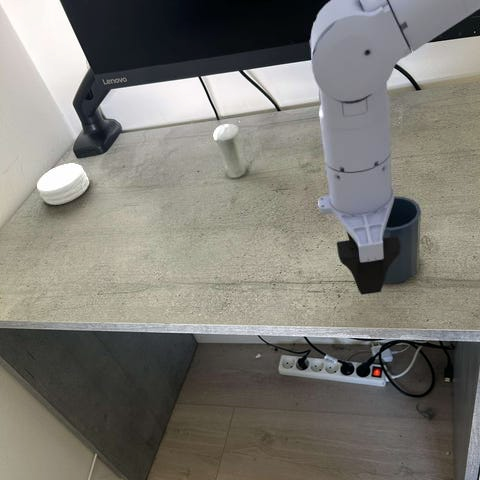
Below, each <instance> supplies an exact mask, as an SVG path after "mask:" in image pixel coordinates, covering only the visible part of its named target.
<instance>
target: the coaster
mask: <svg viewBox="0 0 480 480" xmlns="http://www.w3.org/2000/svg"><path fill="white" fill-rule="evenodd" d="M89 185H90V179H89V177H88V176H87V173H86V172H85V170H84V168H83V167H82V166H81V165H80V164H77V163H67V164H63V165H59V166H56V167H54V168H52V169H50V170H49V171H48V172H46V173H45V174H43V175H42V177H40V179H39V180H38V182H37V183H36V189H37V191H38V193H40V196H41V197H42V199H43V201H44V202H45V203H46V204H49V205H53V206H57V205H63V204H67V203H69V202H72V201H74V200H76V199H77V198H79V197H80V196H82V195H83V194H84V193H85V192H86V190H87V189H88V188H89Z"/></svg>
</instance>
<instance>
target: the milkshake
mask: <svg viewBox="0 0 480 480" xmlns="http://www.w3.org/2000/svg"><path fill="white" fill-rule="evenodd" d="M240 126H241V120H239V123H238V126H237V125H236V124H234V123H224V124H221V125H219V126H217V127H216V129H215V130H214V131H213V139H214V141H215V144H216V146H217V149H218V152H219V153H220V157H221V159H222V161H223V165H224V167H225V169H226V172H227V175H228V177H230V178H232V179H239V178H240V177H243V176H244V175H245V174H246V165H245V159H244V153H243V148H242V141H241V133H240Z"/></svg>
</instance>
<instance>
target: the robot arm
mask: <svg viewBox="0 0 480 480" xmlns="http://www.w3.org/2000/svg"><path fill="white" fill-rule="evenodd" d="M478 10H480V0H330V1H328V2H327V3H325V4H324V6H323V7H322V8H321V9H320V10H319V11H318V13H317V15H316V19H315V21H313V23H312V24H313V25H312V28H311V33H310V39H309V47H310V54H311V55H310V56H311V62H310V63H311V70H312V75H313V77H314V81H315V82H316V85H317V99H318V103H319V105H320V106H319V110H318V117H319V122H320V130H321V140H322V147H323V156H324V161H325V169H326V179H327V186H328V194H327V195H323V196H320V197H318V199H317V203H318V211H319V213H320V214H321V215H327V214H330V215H332V216H333V217H334V218H335V219H336V221H338V223H339V224H340V225H341V226H342V227H343V229H344V230H345V231H346V235H347V238H348V239H347V240H341V241H336V249H337V255H338V256H337V257H338V259H339V260H340V262H341V264H342V265H344V266H345V267H346V268H347V269H348V270H349V272H350V273H351V275H352V277H353V279H354V282H355V286H356V288H357V290H358V292H359V293H360V295H362V296H363V295H371V294H377V293H381V292H382V289H383V287H384V284H385V283H384V280H385V277H386V274H387V271H388V268H389V266H390V265H391V263H392V262H393V261H394V260H395V258H396V257H397V256H399V254H400V250H401V244H400V241H399V237H398V236H395V237H389V238H383V234H384V231H385V227H386V224H387V221H388V218H389V215H390V212H391V209H392V205H393V202H394V196H395V192H394V188H393V186H392V185H393V184H392V142H391V141H392V138H391V133H392V132H391V131H392V130H391V100H390V96H389V95H388V81H389V79H390V78H391V76H392V75H393V72H394V68H395V66H396V65H397V64H398V63H399V61H400V60H401V59H404V58H406V57H407V56H409V55H410V54H412V53H413V52H415V51H416V50H419V49H420V48H421V47H423V46H425V45H426V44H427V43H429V42H431V41H432V40H433V39H435V38H437V37H438V36H440V35H442V34H443V33H444V32H446V31H447V30H449V29H450V28H453V27H454V26H455V25H457V24H458V23H460V22H461V21H463V20H464V19H466V18H467V17H469V16H471V15H472V14H474V13H476V11H478ZM382 238H383V239H382Z"/></svg>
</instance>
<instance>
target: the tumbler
mask: <svg viewBox="0 0 480 480" xmlns="http://www.w3.org/2000/svg"><path fill="white" fill-rule="evenodd" d="M421 221H422V210H421V207H420V205H419V204H418V202H416V201H415V200H414V199H412V198H409V197H406V196H398V195H397V196H396V195H394V202H393V205H392V209H391V212H390V215H389V218H388V221H387V224H386V227H385V231H384V234H383V238H389V237H395V236H398V237H399V241H400V244H401V250H400V254H399V256H397V257H396V258H395V260H394V261H393V262H392V263H391V265H390V266H389V268H388V271H387V274H386V277H385V280H384V284H388V285H395V284H402V283H404V282H407V281H410V280H411V279H412V278H414V276H416V274H417V273H418V270H419V265H420V249H421V247H420V246H421V245H420V244H421ZM383 238H382V239H383Z"/></svg>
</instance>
